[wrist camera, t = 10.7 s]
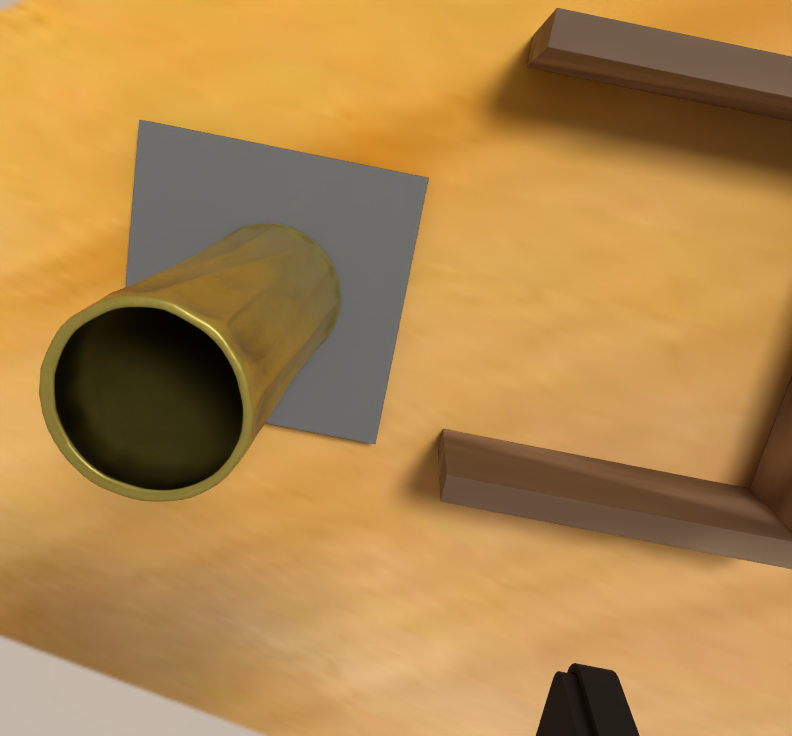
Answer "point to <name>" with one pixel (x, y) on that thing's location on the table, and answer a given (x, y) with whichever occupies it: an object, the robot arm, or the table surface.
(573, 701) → the robot arm
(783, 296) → the table surface
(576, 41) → the open wooden frame
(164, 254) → the rubber mat
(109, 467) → the vase
